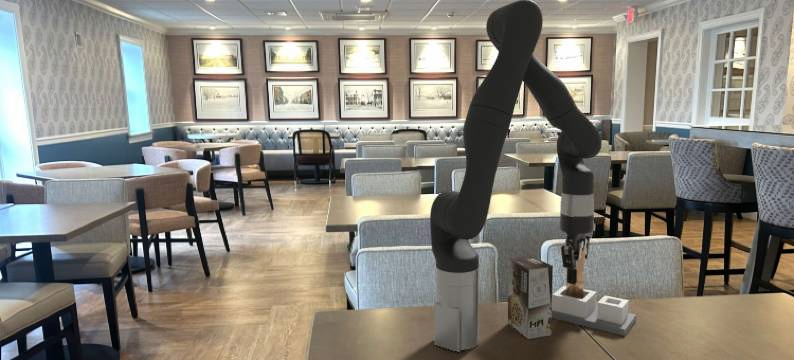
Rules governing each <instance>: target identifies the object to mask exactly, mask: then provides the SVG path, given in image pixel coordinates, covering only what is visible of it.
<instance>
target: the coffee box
mask: <svg viewBox="0 0 794 360" xmlns="http://www.w3.org/2000/svg"><path fill="white" fill-rule="evenodd" d="M553 271H554V265H552V264H549V263H547V262H545V261H544V260H541V259H538V258H536V257H534V256H532V255H525V256H519V257H515V258H508V259H507V324H508V323H509V324H511V325H512V326H513V327H515V328H516V329H517V330H518V331H519V332H518V331H517V330H516V329H515V330H516V331H517V332H518V333H520V334H521V335H522V334H523V335H522V336H524V337H525V338H526V339H527V340H531V339H537V338H542V337H549V336H551V335H552V320H553V318H552V295H553V279H554V277H553V275H554V273H553ZM509 324H508V325H509ZM512 326H511V327H512ZM513 327H512V328H513Z"/></svg>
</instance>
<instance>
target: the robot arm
mask: <svg viewBox="0 0 794 360" xmlns="http://www.w3.org/2000/svg"><path fill="white" fill-rule="evenodd" d="M543 21H544V19H543V13H542V10H541V8H540V6H539V4H537V3H536V1H534V0H516V1H513V2H511V3H508V4H506V5H504V6H503V5H502V6H500V7H498V8H497V9H495V10H493V11H492V12H491V13H490V14H489V17H488V18H487V20H486V34H487V38H488V39H489V41H490V43H491V44H492V45H493V46H494V48H495V49H496V50H497V52H498V53H497V56H496V59H495V61H494V63H493V65H492V67H491V68H490V69H489V71H488V73H487V74H486V76H485V78H483V80H482V82H481V83H480V85H479V86H478V88H477V89H476V91H475V93H474V94H473V96H472V99H471V101H470V104H469V107H468V111H467V112H466V113H467V114H466V116H465V117H466V118H465V121H464V124H463V130H462V135H463V145H464V153H465V162H466V163H465V165H466V166H465V173H464V177H463V180H462V184H461V187H460V190H459V191H454V190H445V191H442V192H440V193H439V194H438V195H436V197H435V198H434V200H433V202H432V204H431V207H430V212H429V213H430V214H429V215H430V217H429V220H430V221H429V222H430V223H429V225H430V226H429V227H430V242H431V250H432V254H433V256H434V260H435V303H434V304H433V311H434V312H433V314H434V315H433V317H434V318H433V319H434V321H433V322H434V325H433V326H434V329H433V330H434V332H433V333H434V345H435V344H436V345H439V346H442V347H444V348H443V349H445V348H447V349H446V350H448V349H450V350H449V351H451V350H453V351H452V352H454V351H457V352H459V353H461V352H462V351H461V350H465V349H470V348H472V347H474V346H476V345H477V344H478V345H479V343H478V342H480V339H479V337H480V333H479V330H480V329H479V328H480V323H479V316H480V315H479V313H480V312H479V311H480V308H479V306H480V305H479V304H480V302H479V301H480V299H479V298H480V295H479V293H480V291H479V290H480V289H479V288H480V287H479V286H480V285H479V283H480V280H479V279H480V278H479V277H480V273H479V272H480V270H479V269H480V266H479V265H480V262H479V261H480V257H479V253H478V252H477V251H476V250H475V248H473V246H472V245H471V243H470V241H469V240H473V239H474V238H476V237H478V235H479V234H481V232H482V230H483V228H484V227H485V225H486V222H487V218H488V216H489V209H490V206H491V201H492V194H493V189H494V184H495V178H496V174H497V170H498V167H499V162H500V160H501V155H502V151H503V149H504V144H505V142H506V138H507V136H508V133H509V130H510V129H509V128H510V125H511V122H512V118H513V116H514V112H515V107H516V103H517V100H518V97H519V94H520V91H521V88H522V85H523V84H524V85H525V86H526V88H527V89H528V90H529V91H530V94H531V95H532V97H533V98H534V99H535V101H536V103H537V104H538V107H540V109H541V111H542V113H543V115H544V117H545V118H546V120H547V122H548V123H549V124H550V125H551V126H552V127H553V128H555V129H558V130H560V132H559V135H558V137H557V140H556V152H557V158H558V163H559V168H560V171H561V175H562V179H561V197H560V205H559V206H560V207H559V208H560V214H559V215H560V216H559V217H560V218H559V220H560V221H559V229H560V231H561V232H563V233H566V238H565V242H564V245H561V247H560V252H561V259H562V260H561V261H562V267H563V268H566V278H567V283H569V284H576V283H577V268H578V260H580V259H581V250H582V249H585V260H588V258H589V248H590V240H591V235H589V234H591V233H592V232H594V217H595V216H594V215H595V200H594V188H595V187H594V184H595V183H594V181H595V180H594V179H595V178H594V177H595V176H594V171H593V170H591V169H590V168H588V167H587V166H586V165H585V162H584V159H592V158H595V157H596V156H598V155H599V154H600V152H601V149H602V136H601V134H600V132H599V130H598V129H597V127H596V126H595V125H594V124H593V122H592V121H591V119H589V118H588V117H587V116H586V115H585V114H584V113H583V112H582V111H581V110H580V109H579V108H578V106H577V104H576V102H575V100H574V98H573V97H572V95H571V93H570V91H569V90H568V88H567V86H566V85H565V83H564V82H563V81H562V80H561V79H560V78H559V77H558V75H556V74H555V73H554V72H553V71H551V69H550V68H548V67H547V66H546V65H545V64H544V63H543V62H542V61H540V59H539V58H538V57H537V56H536V54H535V53H534V52H535V49H536V47H537V44H538V41H539V40H540V37H541V34H542V31H543V30H542V29H543V24H544V23H543ZM574 254H577V256H574ZM574 260H575V261H574ZM570 262H571V263H570ZM585 263H586V261H585V262H584V264H585ZM436 345H435V346H436ZM478 345H477V346H478ZM439 346H438V347H439ZM477 346H476V347H477ZM442 347H441V348H442ZM472 349H473V348H472ZM470 350H471V349H470ZM460 351H461V352H460ZM465 351H466V350H465ZM457 352H456V353H457Z"/></svg>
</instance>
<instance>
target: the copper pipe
mask: <svg viewBox="0 0 794 360" xmlns="http://www.w3.org/2000/svg"><path fill="white" fill-rule="evenodd" d="M574 256H577V254H574ZM574 261H575V260H574ZM584 262H585V263H586V259H585V249H582V250H581V259H580V260H578V268H577V283H576V284H569V283H567V277H566V282H565V283H566V284H565V285H566V296H570V297H574V298H579V299H583V293H584V289H585V288H584V287H585V263H584ZM570 263H571V262H570Z"/></svg>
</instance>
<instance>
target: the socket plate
mask: <svg viewBox="0 0 794 360" xmlns="http://www.w3.org/2000/svg"><path fill="white" fill-rule="evenodd" d="M597 294H598V293H597V291H594V290H590V289H586V288H584V293H583V299H579V298H574V297H570V296H566V284H564V285H562V287H559V289H557V291H555V292H553V293H552V319H555V320H558V321H559V320H560V321H562V322H563V321H564V322H567V323H570V324H575V325H579V326H582V327H586V328H591V329H596V330H599V331H602V332H607V333H611V334H614V335H619V336H623V337H625V336H626V335H627V334H628V332H629V331H630V330H631V328H632V327H634V325H635V323H636V322H637V314H634V313H632V312H631V313H630V312H629V301H630V300H629V299H624V298H619V297H614V296H609V295H604V296H603V297H602V298H600V300H599V301H598V302H597Z"/></svg>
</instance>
